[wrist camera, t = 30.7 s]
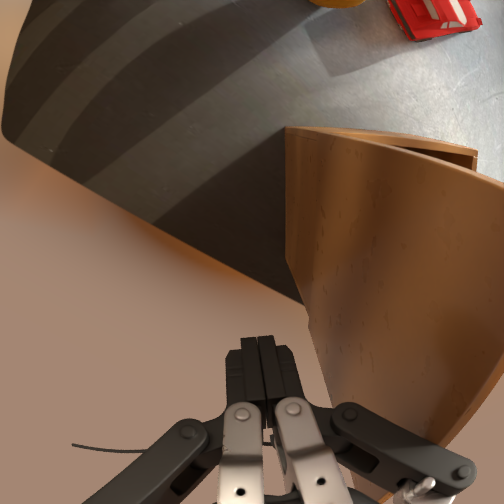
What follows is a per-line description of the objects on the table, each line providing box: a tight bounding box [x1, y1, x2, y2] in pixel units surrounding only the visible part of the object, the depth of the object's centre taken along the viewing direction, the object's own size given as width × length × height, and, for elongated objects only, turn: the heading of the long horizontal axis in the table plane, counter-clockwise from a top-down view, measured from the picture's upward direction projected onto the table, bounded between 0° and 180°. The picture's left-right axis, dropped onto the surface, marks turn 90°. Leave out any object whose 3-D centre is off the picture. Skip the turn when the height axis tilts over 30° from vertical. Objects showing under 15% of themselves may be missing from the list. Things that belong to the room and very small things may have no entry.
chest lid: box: [308, 132, 504, 504], centre depth 15 cm, size 18×18×1 cm
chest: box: [285, 127, 478, 316], centre depth 31 cm, size 18×18×14 cm
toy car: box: [387, 0, 483, 42], centre depth 23 cm, size 9×19×5 cm, turn 116°
